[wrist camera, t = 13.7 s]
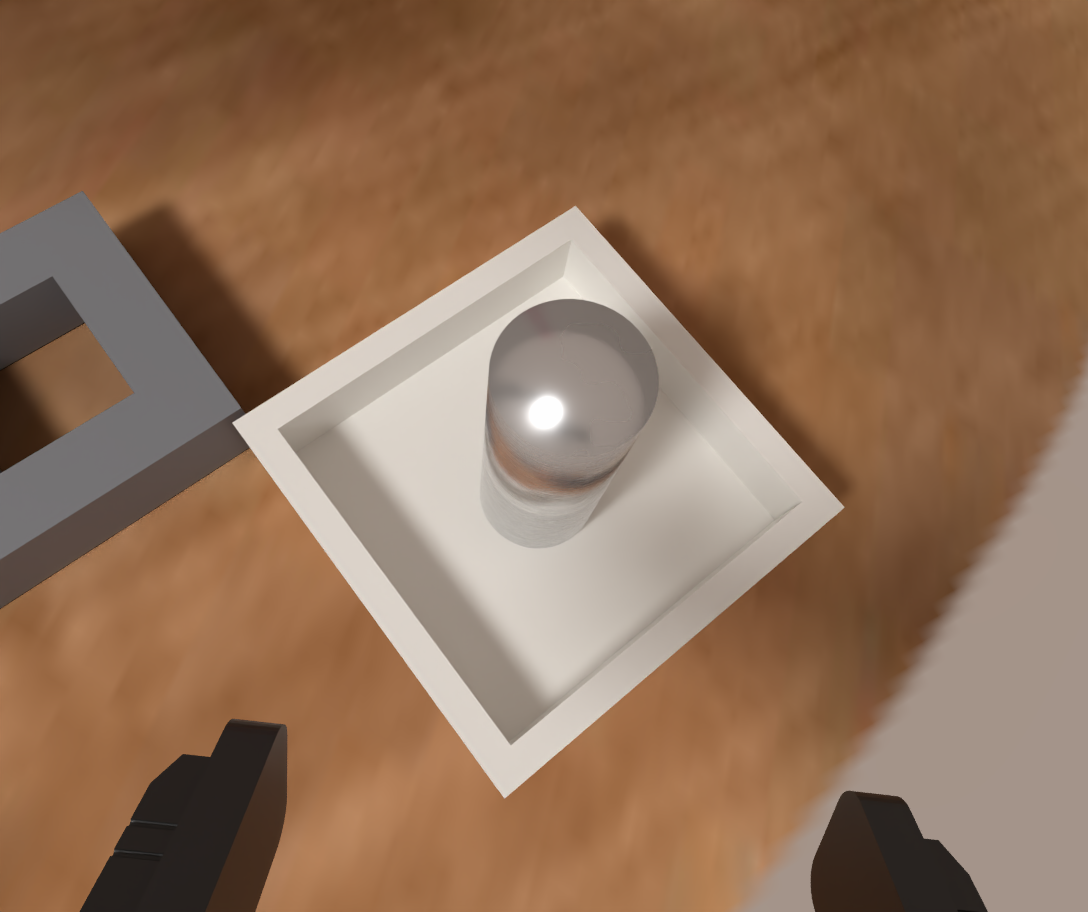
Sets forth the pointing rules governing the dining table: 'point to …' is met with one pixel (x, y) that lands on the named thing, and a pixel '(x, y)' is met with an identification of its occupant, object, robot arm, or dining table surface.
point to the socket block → (122, 430)
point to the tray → (500, 565)
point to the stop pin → (561, 417)
